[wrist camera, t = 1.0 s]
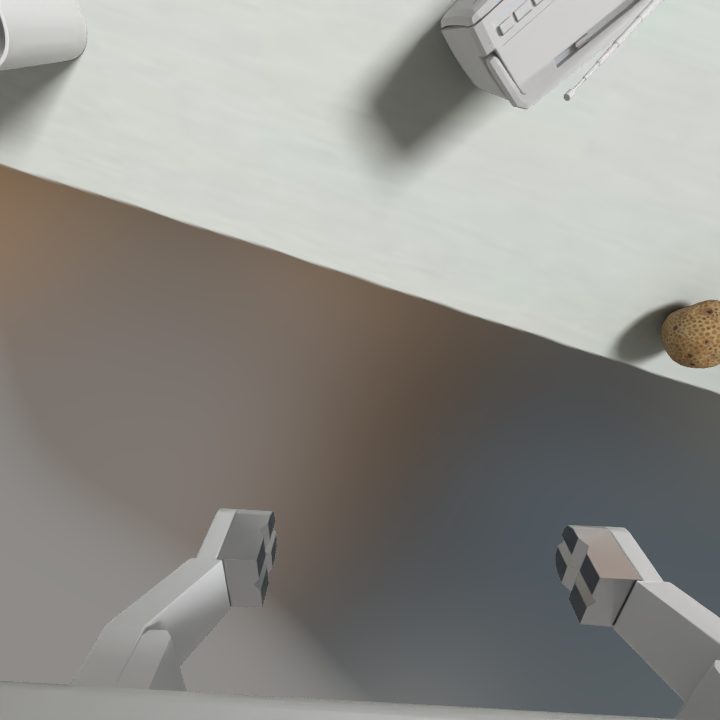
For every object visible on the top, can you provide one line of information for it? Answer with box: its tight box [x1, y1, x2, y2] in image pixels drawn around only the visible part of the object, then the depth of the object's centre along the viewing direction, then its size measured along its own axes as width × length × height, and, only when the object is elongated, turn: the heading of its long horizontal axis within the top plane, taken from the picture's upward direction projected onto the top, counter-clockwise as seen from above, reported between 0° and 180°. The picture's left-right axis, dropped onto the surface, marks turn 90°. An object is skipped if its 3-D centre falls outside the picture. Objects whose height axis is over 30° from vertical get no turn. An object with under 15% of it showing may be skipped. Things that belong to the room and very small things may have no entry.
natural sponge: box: [661, 300, 720, 368], centre depth 55 cm, size 9×9×10 cm
